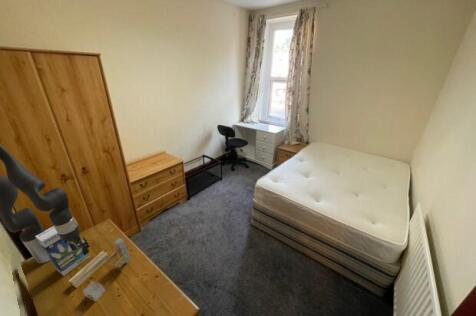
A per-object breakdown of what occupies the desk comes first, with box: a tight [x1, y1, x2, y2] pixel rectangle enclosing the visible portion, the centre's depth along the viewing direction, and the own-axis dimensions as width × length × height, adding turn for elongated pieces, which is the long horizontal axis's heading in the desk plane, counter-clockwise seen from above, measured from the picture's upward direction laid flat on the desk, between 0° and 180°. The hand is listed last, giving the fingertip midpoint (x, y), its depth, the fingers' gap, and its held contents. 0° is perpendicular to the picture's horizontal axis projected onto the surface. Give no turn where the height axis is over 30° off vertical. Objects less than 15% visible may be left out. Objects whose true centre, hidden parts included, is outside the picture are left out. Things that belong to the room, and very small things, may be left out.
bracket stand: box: [82, 237, 131, 302], centre depth 98 cm, size 7×22×16 cm, turn 161°
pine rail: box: [68, 250, 110, 289], centre depth 104 cm, size 4×18×4 cm, turn 159°
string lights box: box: [35, 225, 91, 277], centre depth 103 cm, size 13×8×26 cm, turn 152°
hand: (80, 251), depth 98 cm, fingers open, 8 cm apart
